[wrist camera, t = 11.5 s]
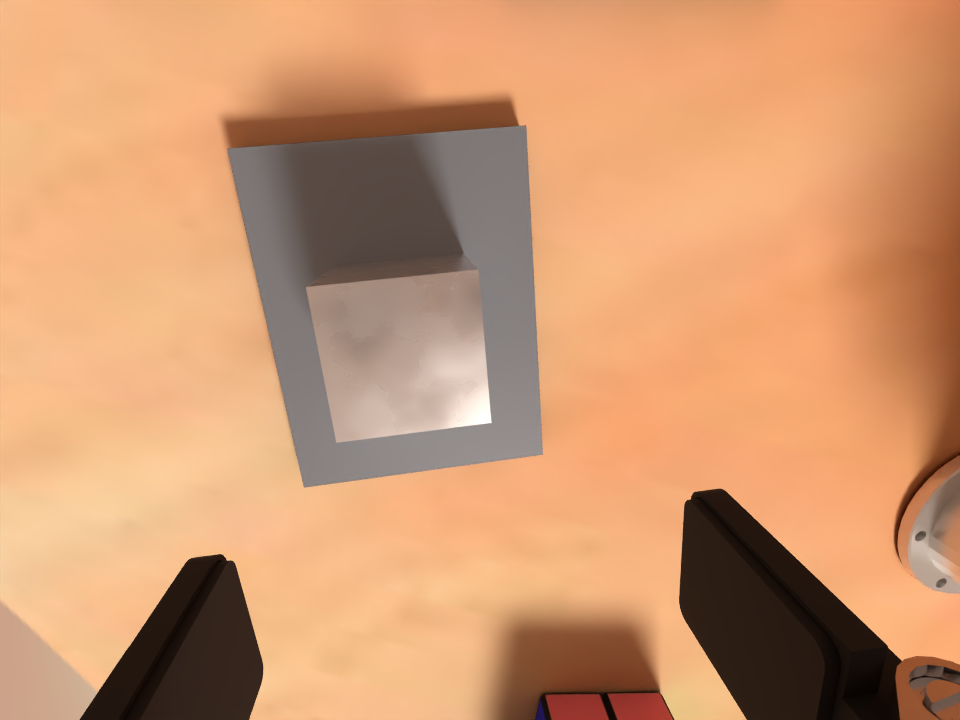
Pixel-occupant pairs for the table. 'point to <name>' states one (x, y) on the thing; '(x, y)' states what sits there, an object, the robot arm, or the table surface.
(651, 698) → the puzzle cube
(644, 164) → the table surface
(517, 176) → the post base
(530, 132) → the table surface
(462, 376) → the pale block
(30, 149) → the table surface
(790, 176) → the table surface
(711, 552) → the robot arm
